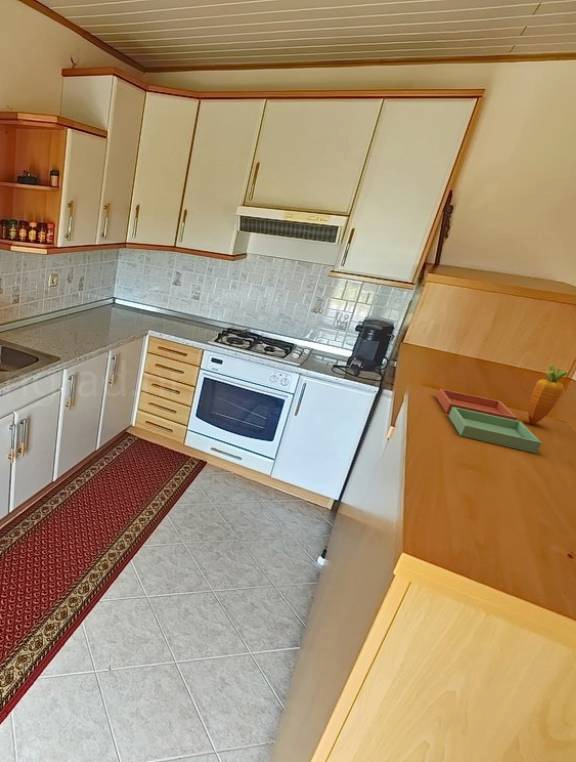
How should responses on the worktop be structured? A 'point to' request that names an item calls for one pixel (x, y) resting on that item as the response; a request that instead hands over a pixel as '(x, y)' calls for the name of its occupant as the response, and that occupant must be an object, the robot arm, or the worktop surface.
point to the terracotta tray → (473, 404)
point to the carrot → (545, 395)
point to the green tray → (494, 430)
